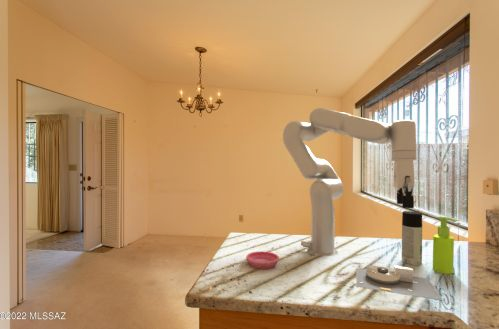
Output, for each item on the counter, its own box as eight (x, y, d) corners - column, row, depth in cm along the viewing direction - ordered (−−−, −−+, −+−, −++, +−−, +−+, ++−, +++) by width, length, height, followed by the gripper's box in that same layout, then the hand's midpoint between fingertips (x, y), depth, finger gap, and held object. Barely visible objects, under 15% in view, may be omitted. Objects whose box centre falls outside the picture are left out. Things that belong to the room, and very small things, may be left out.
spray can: (424, 268, 100) (425, 214, 100) (404, 267, 101) (405, 213, 101) (417, 262, 106) (418, 211, 106) (398, 260, 108) (399, 210, 108)
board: (356, 290, 82) (356, 285, 82) (355, 269, 98) (355, 266, 98) (442, 304, 75) (442, 299, 75) (426, 279, 90) (426, 275, 90)
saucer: (252, 257, 111) (252, 249, 111) (282, 261, 107) (282, 253, 107) (241, 268, 99) (241, 259, 99) (274, 273, 95) (274, 264, 95)
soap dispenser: (450, 279, 91) (452, 220, 90) (429, 272, 97) (430, 216, 97) (460, 276, 93) (461, 218, 93) (438, 269, 100) (439, 214, 99)
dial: (366, 281, 85) (367, 268, 85) (365, 269, 95) (365, 257, 95) (416, 288, 81) (416, 275, 81) (409, 275, 90) (409, 263, 90)
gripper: (387, 157, 103) (388, 202, 103) (396, 155, 87) (397, 209, 87) (410, 156, 101) (411, 203, 101) (423, 155, 85) (424, 210, 84)
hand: (404, 205), depth 94 cm, fingers open, 9 cm apart
